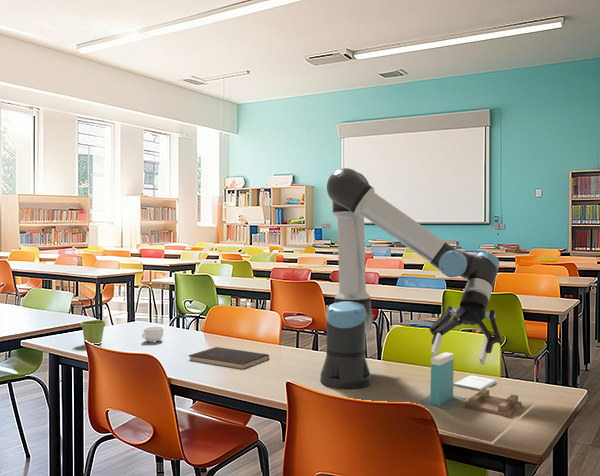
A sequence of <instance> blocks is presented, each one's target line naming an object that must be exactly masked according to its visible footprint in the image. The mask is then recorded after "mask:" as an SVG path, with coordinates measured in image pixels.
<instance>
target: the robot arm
mask: <svg viewBox="0 0 600 476" xmlns="http://www.w3.org/2000/svg"><path fill="white" fill-rule="evenodd" d="M326 191H327V192H326V193H327V195H328V197H329V198H330V200H331V202H332V214H333V215H334V216H335V217H336V218H337V245H338V246H337V248H338V249H337V251H338V252H337V253H338V255H337V256H338V287H339V288H338V290H339V291H338V293H337V294H336V295H334V303H332V304H329V306H328V307H327V310H326V315H325V318H326V357H325V358H324V359H325V360H324V362H323V365H322V368H321V371H320V377H319V378H320V383H321V384H323V385H325V386H327V387H330V388H336V389H347V390H348V389H352V390H353V389H359V388H361V389H362V388H364V387H368V386H369V385H371V381H372V379H371V378H372V374H371V372H370V369H369V365H368V361H367V359H366V335H367V333H368V332H369V331H370V329H371V328H372V326H373V321H374V313H373V310H372V304H371V303H372V301H371V297H372V296H371V295H370V294H369V293H368V292H367V288H366V282H367V281H366V245H365V240H366V238H365V236H366V235H365V218H366V219H367V220H369V221H370V222H371V223H372V224H374V225H375V226H377V227H379V228H380V229H381V230H383V231H384V232H386V233H387V234H388V235H390V236H391V237H392V238H394V239H395V240H397V241H398V242H400V244H402V245H403V246H405V247H406V248H408V249H410V250H411V251H412V252H414V254H416V255H418V256H419V257H421V258H422V259H424V260H425V261H427V262H428V263H429V264H430V265H431V266H433V267H434V268H436V269H438V270H439V271H440V272H441V274H443V275H444V276H446V277H448V278H458V277H460V278H463V279H465V280H467V281H466V285H465V287H464V291H463V294H462V296H461V300H460V302H459V307H457V308H453V307H452V305H449V306H448V307H447V308H446V310H445V311H444V313H443V314H442V315H441V316H440V317H438V319H436V320H435V321H434V323H432V325H431V326H430V327H429V331H430V333H431V336H432V335H433V336H432V339H431V344H432V347H431V351H430V353H431V355H432V356H433V357H435V356H437V355H438V353H439V350H440V348H441V344H442V341H443V337H442V336H444V335H446V334H447V333H448V332H450V331H451V330H453V329H455V328H456V327H457V326H459V327H460V326H461V325H462V324H463V325H469V326H475V325H477V326H478V327H479V329H480V330H481V332H482V333H483V334H484V336H485V338H484V341H483V344H482V347H481V351H480V353H479V354H480V355H479V358H478V360H479V362H480V364H481V365H482V366H484V365H485V363H486V359H487V357H488V354H491V353H492V350H493V348H494V344H497V343H498V344H501V343H502V342H503V341H502V338H501V335H500V331H499V328H498V324H497V322H496V321H497V315H496V313H495V310H493V309H491V310H490V311H487V310H488V305H489V303H490V298H491V295H492V291H493V289H494V285H495V282H496V279H497V276H498V272H499V267H500V260H499V258H498V257H497V255H495V254H494V253H491V252H488V251H487V252H485V251H480V252H478V253H476V255H474V254H470V253H468V252H467V253H466V252H464V251H462V250H460V249H457V248H455V247H454V246H452V245H450V244H449V243H447V242H446V241H444V240H443V239H442V238H440V237H439V236H437V235H436V234H435V233H433V232H432V231H430V230H429V229H427V228H426V227H424V226H423V225H421V224H420V223H419V222H417V221H416V220H415V219H413V218H412V217H410V216H409V215H407V214H406V213H404V212H403V211H402V210H401V209H399V208H397V207H396V206H394V205H393V204H392V203H390V202H388V201H387V200H386V199H384V198H383V197H382V196H380V195H379V194H377V193H376V191H375V188H374V187H373V186H372V185H371V184H369V180H368V179H367V178H366V176H365V175H363V174H362V173H361V172H358V171H356V170H355V169H351V168H348V167H345V168H339V169H337V170H335V171H334V172H333V173H331V175H330V176H329V178H328V180H327V183H326ZM486 317H487V320H489V321H490V324H491V327H492V330H493V334H494V336H493V335H492V334H491V332H490V331H489V329H488V328H487V325H485V323H484V322H483V320H484V319H485V318H486ZM433 357H432V358H433Z"/></svg>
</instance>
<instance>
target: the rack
mask: <svg viewBox="0 0 600 476" xmlns="http://www.w3.org/2000/svg"><path fill="white" fill-rule="evenodd" d="M467 400H468V401H467V402H466V403H464V408H466V409H470V410H471V409H472V410H475V411H480V412H485V413H490V414H495V415H497V416H498V415H500V416H503V417H504V416H505V417H510V416H511V415H512V414H513V413H514V412H516V411H517V410H518V409H519V408H520V407H521V406H522V403H523V402H522V401H519V395H516V394H511V395H510V396H508V397H507V398H502V397H498V396H492V395H490V390H489V389H486V388H484V389H483V390H481V391H478V392H477V393H475V394H474V395H472V396H471V397H469V398H468V399H467Z"/></svg>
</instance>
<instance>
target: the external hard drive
mask: <svg viewBox="0 0 600 476" xmlns="http://www.w3.org/2000/svg"><path fill="white" fill-rule="evenodd" d="M495 384H497V379H493V378H488V377H483V376H478V375H473V374H470V375H468V376H466V377H465V378H462V379H459V380H458V381H456V382H453V387H458V388H459V387H460V388H464V389H467V390H468V389H469V390H473V391H478V392H480V391H481V390H483V389H486V388H490V387H492V386H493V385H495Z"/></svg>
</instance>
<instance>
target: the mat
mask: <svg viewBox="0 0 600 476" xmlns="http://www.w3.org/2000/svg"><path fill="white" fill-rule="evenodd" d="M465 400H468V399H467V397H462V396H458V395H453V398H451V399H449V400H448V401H446V402H444V403H443V404H441V405H440V406H439V405H435V404H430V403H431V394H429V395H427V396H426V397H423V398H422V399H420V400H419V401H417V402H416V404H422V405H426V406H430V407H435V408H439V409H443V410H451V409H453V408H454V407H456V406H457V405H459V404H460V403H462V402H464V401H465Z"/></svg>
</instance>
